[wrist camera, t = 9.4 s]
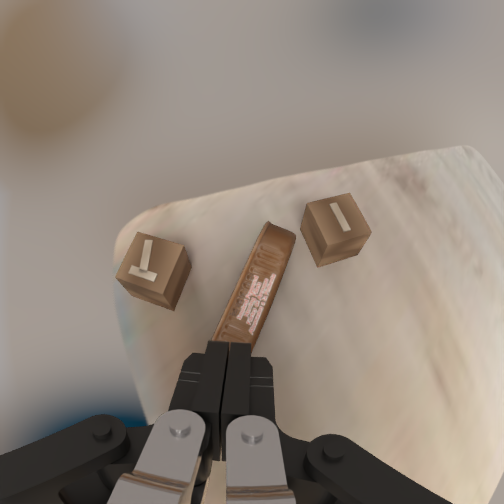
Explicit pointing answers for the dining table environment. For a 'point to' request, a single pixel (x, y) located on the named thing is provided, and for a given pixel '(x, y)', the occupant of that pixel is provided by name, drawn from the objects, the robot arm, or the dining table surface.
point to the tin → (256, 287)
